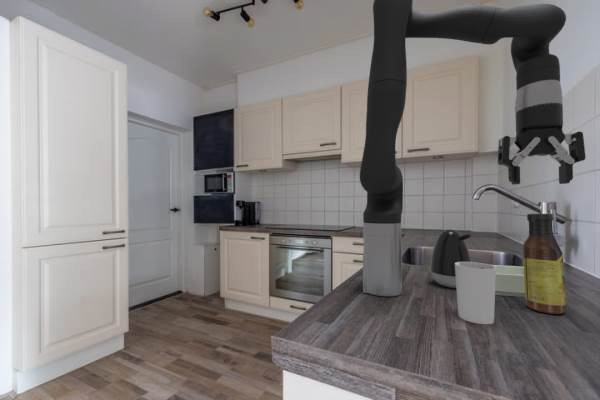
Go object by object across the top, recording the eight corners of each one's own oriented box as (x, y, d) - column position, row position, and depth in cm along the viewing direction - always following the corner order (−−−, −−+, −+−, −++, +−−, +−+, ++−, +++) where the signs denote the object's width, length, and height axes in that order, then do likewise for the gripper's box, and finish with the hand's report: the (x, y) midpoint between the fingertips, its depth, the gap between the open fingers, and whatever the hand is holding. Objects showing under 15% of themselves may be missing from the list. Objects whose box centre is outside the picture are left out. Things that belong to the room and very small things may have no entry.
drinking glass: (471, 309, 56) (470, 260, 56) (505, 322, 49) (504, 267, 50) (447, 313, 53) (446, 263, 54) (480, 327, 47) (479, 270, 47)
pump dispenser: (460, 293, 66) (458, 231, 67) (422, 283, 75) (421, 228, 76) (482, 287, 71) (481, 229, 72) (444, 278, 80) (443, 227, 81)
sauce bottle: (574, 317, 52) (571, 213, 52) (537, 314, 53) (534, 213, 54) (550, 305, 58) (548, 213, 59) (517, 303, 59) (515, 213, 60)
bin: (490, 294, 65) (489, 273, 65) (473, 281, 77) (473, 263, 77) (550, 299, 62) (550, 277, 62) (524, 285, 73) (523, 266, 73)
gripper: (506, 105, 56) (508, 183, 55) (593, 97, 52) (596, 181, 51) (492, 116, 63) (493, 186, 62) (567, 111, 59) (569, 184, 58)
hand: (539, 183), depth 57 cm, fingers open, 8 cm apart
